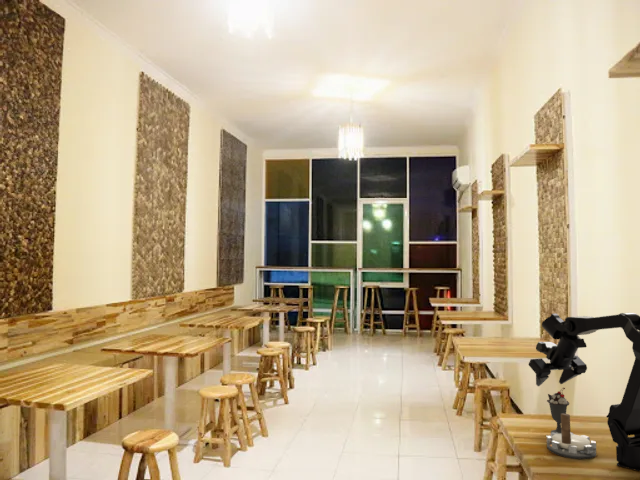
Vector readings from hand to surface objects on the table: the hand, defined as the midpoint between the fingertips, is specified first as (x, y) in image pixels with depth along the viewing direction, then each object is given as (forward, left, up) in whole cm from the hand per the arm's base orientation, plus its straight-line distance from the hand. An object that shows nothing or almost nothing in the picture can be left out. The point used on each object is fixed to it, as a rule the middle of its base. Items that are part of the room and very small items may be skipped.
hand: (548, 384), depth 163 cm
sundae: (-3, +2, -15) cm, 16 cm away
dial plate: (-11, +15, -15) cm, 24 cm away
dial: (-11, +15, -13) cm, 23 cm away
